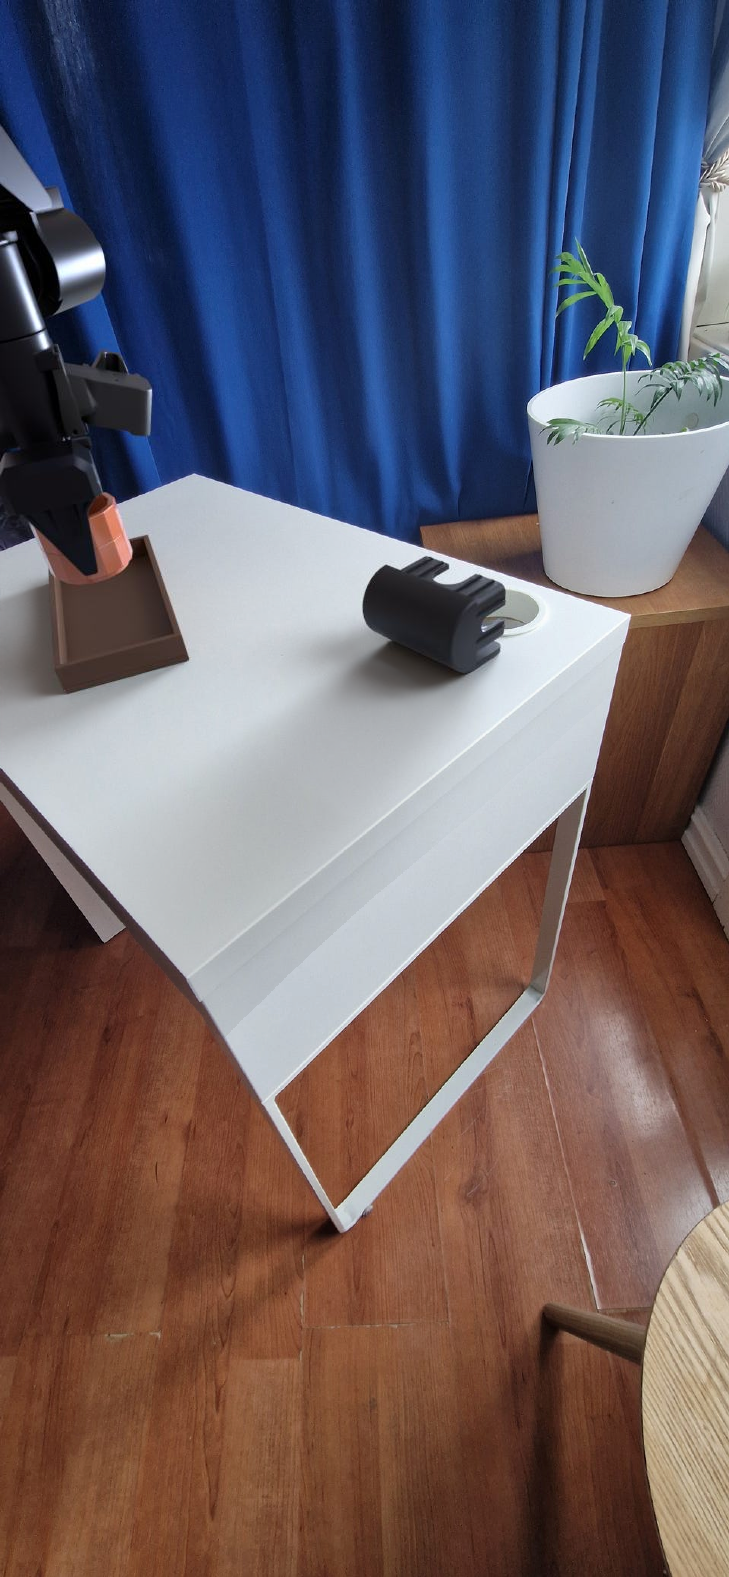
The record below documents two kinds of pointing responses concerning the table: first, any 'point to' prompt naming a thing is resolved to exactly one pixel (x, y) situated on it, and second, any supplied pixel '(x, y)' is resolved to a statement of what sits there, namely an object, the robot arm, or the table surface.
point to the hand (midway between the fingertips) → (89, 556)
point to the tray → (114, 624)
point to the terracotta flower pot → (107, 545)
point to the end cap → (436, 613)
